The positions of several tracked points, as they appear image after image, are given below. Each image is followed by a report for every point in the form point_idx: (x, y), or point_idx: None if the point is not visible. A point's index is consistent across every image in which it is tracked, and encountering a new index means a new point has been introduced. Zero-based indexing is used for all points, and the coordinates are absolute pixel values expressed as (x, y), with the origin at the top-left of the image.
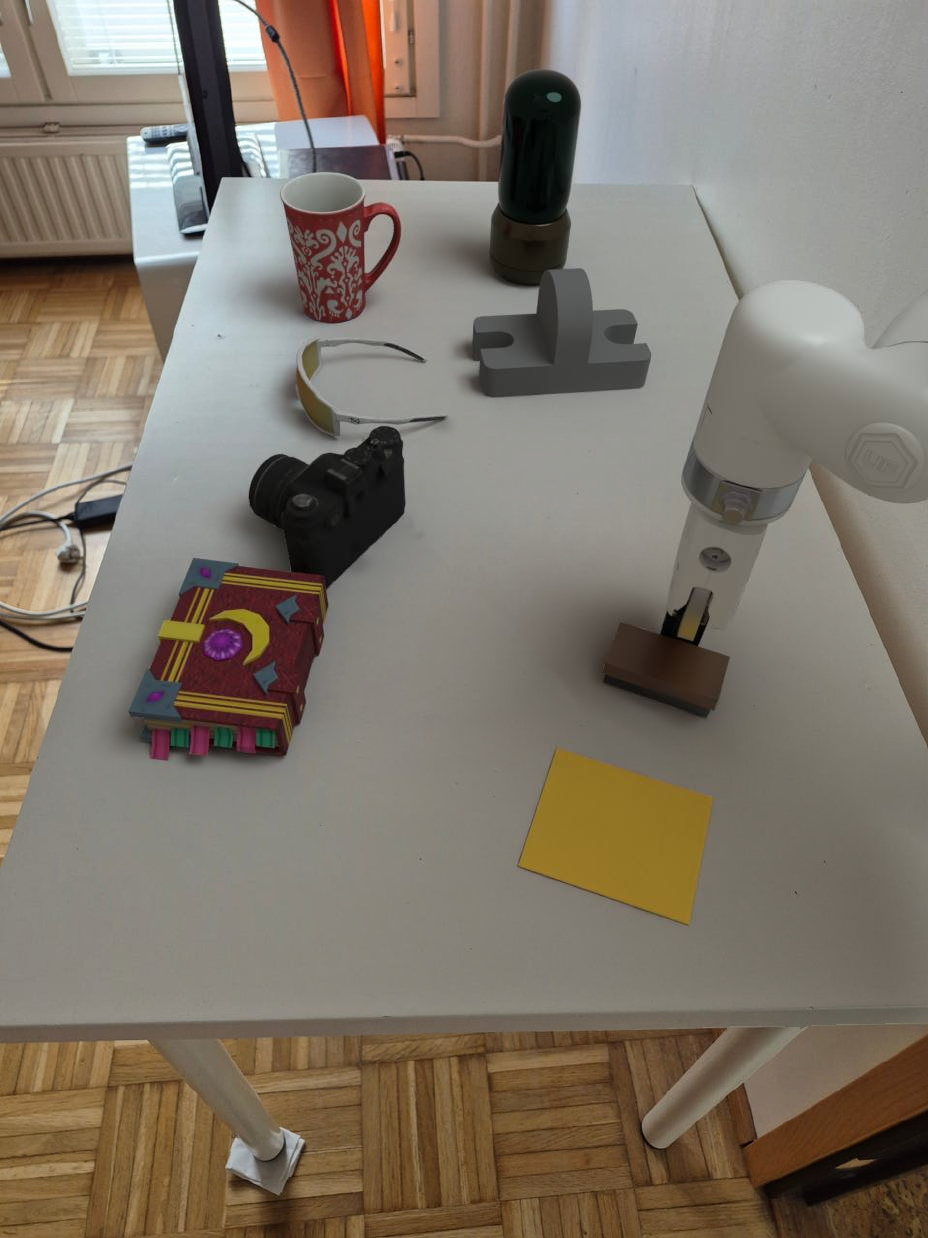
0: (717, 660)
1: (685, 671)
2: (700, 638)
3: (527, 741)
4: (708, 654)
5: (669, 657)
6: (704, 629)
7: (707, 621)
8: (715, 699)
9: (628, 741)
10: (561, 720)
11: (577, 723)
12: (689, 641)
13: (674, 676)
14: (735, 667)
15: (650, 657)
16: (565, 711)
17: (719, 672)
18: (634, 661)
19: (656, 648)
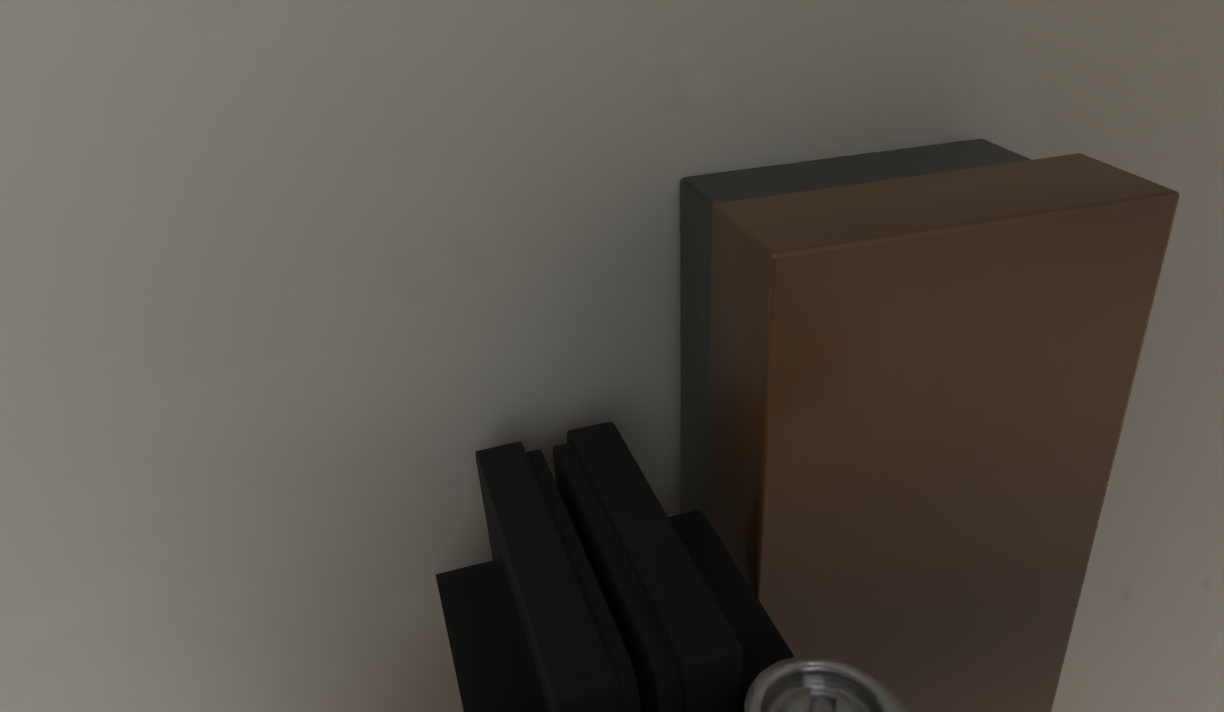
0: (847, 325)
1: (993, 463)
2: (645, 487)
3: (1213, 690)
4: (808, 399)
5: (912, 582)
6: (691, 559)
7: (735, 637)
8: (1169, 211)
9: (1171, 418)
10: (1115, 657)
11: (1119, 610)
12: (719, 538)
13: (1051, 501)
14: (519, 92)
15: (945, 659)
16: (1074, 667)
17: (950, 272)
18: (994, 702)
19: (869, 665)
